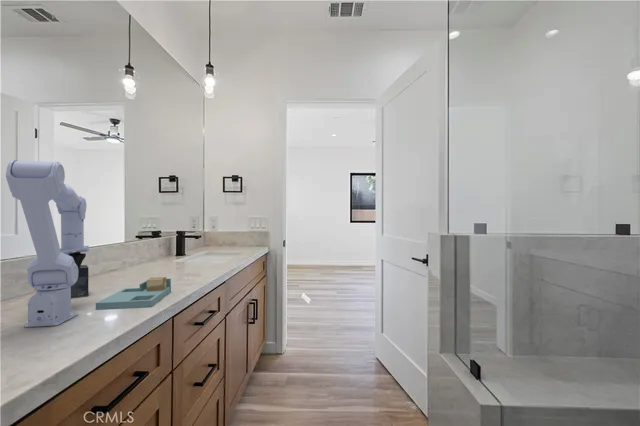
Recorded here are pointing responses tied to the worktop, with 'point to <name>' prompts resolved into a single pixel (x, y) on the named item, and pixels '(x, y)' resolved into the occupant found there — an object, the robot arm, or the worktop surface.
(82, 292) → the box
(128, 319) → the worktop surface
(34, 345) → the worktop surface
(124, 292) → the trap deck
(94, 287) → the worktop surface
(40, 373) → the worktop surface
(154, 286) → the block
